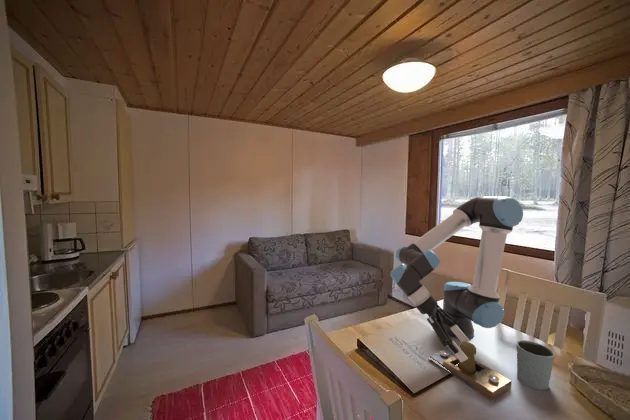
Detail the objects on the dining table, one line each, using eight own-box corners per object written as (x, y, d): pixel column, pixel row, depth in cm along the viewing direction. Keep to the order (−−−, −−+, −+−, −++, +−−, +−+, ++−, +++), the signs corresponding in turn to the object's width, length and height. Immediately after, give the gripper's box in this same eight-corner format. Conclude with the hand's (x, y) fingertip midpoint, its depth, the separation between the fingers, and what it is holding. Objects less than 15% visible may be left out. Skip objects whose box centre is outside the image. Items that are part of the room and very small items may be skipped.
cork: (469, 381, 91) (471, 350, 90) (453, 370, 96) (454, 341, 96) (479, 375, 94) (481, 346, 93) (463, 366, 99) (465, 337, 99)
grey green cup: (510, 378, 93) (512, 346, 92) (519, 367, 99) (521, 336, 98) (548, 396, 85) (550, 360, 84) (555, 383, 91) (557, 349, 90)
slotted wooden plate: (428, 359, 103) (429, 349, 102) (447, 351, 108) (447, 342, 108) (492, 401, 82) (492, 388, 82) (510, 389, 88) (511, 377, 87)
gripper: (420, 295, 114) (458, 339, 107) (408, 317, 93) (454, 374, 86) (434, 285, 111) (474, 330, 104) (425, 306, 89) (474, 364, 83)
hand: (465, 350), depth 95 cm, fingers open, 13 cm apart
